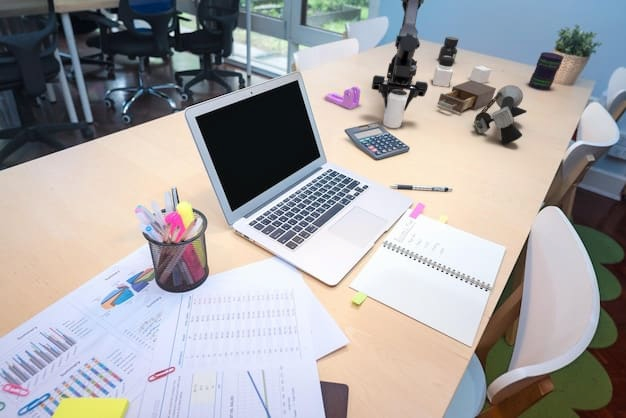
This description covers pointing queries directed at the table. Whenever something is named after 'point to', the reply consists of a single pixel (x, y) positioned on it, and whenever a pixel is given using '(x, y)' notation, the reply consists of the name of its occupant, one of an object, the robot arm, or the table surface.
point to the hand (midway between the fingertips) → (395, 108)
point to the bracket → (346, 98)
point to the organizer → (477, 92)
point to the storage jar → (545, 71)
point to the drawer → (456, 100)
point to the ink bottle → (449, 48)
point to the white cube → (480, 74)
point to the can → (395, 108)
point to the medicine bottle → (443, 72)
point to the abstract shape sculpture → (503, 113)
